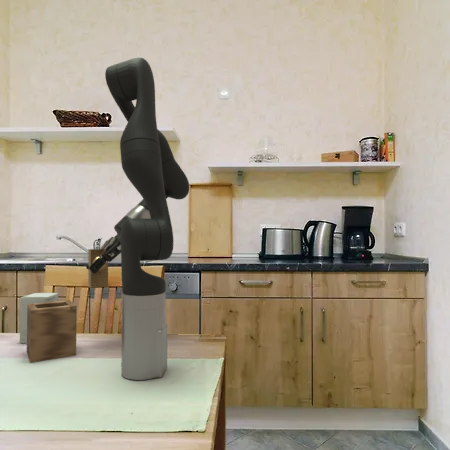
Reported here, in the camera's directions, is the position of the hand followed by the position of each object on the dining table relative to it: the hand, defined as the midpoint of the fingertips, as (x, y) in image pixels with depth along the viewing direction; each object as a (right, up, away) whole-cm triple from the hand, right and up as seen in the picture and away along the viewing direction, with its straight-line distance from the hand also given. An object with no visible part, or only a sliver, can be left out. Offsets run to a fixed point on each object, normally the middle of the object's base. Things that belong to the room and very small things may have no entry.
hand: (90, 270), depth 96 cm
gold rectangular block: (+2, -4, +1) cm, 5 cm away
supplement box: (-16, -20, +6) cm, 27 cm away
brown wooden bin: (-8, -20, -5) cm, 22 cm away
